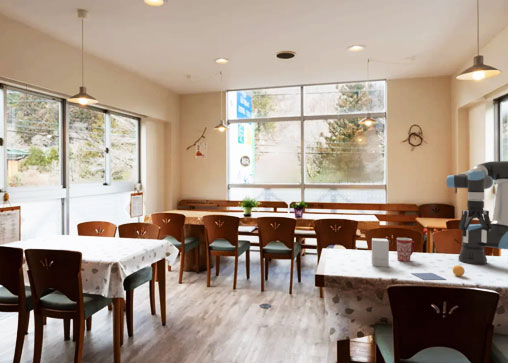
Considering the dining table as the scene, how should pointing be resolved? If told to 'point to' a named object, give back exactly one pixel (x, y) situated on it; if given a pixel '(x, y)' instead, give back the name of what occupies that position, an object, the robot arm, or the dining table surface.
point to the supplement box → (380, 252)
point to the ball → (458, 270)
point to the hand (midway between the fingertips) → (474, 242)
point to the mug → (404, 249)
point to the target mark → (428, 276)
